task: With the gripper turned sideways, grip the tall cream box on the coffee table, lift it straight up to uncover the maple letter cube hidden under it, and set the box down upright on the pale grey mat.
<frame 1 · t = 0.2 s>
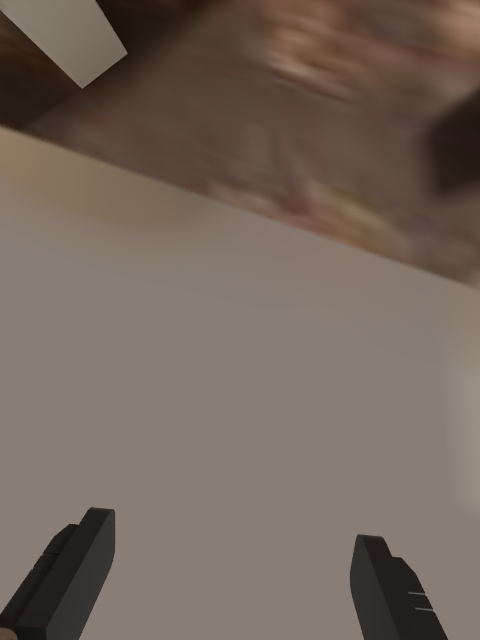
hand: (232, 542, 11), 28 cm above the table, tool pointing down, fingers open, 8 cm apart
cream box: (87, 44, 35), on the table
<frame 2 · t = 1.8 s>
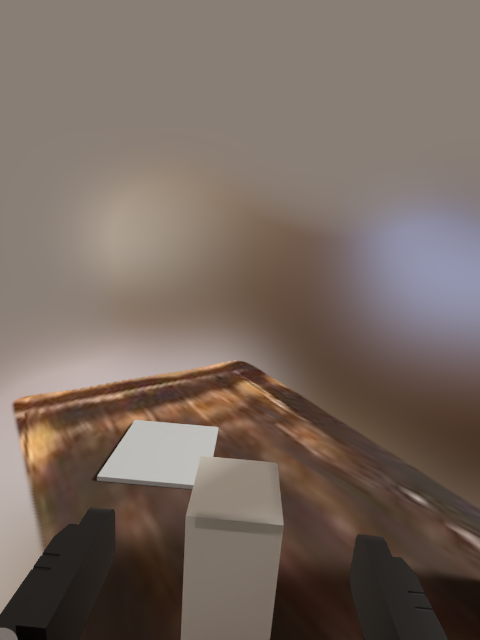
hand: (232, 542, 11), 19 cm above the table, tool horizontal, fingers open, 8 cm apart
grey mat: (165, 452, 46), on the table
cream box: (226, 619, 26), on the table
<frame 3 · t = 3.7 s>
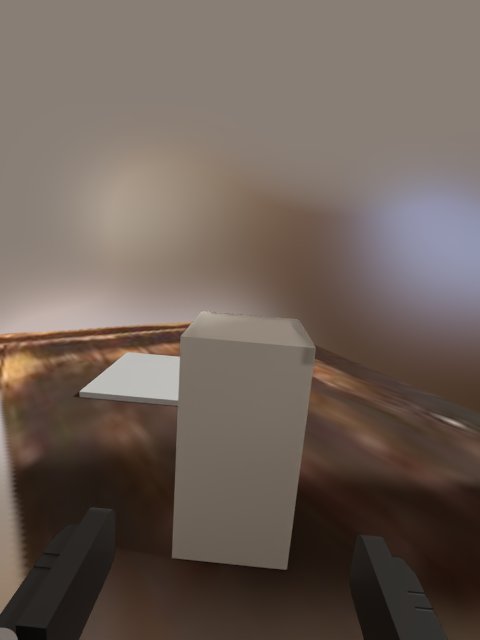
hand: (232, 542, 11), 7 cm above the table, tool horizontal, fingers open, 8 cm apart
grey mat: (160, 378, 40), on the table
cream box: (232, 518, 20), on the table
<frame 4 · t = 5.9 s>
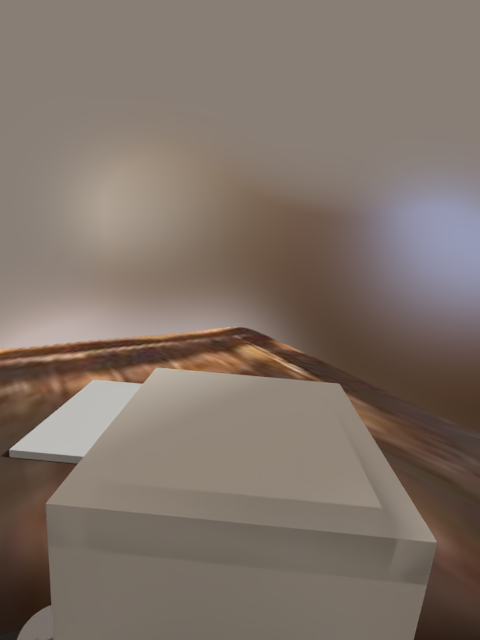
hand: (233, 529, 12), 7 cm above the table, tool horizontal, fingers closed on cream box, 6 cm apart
grey mat: (131, 419, 30), on the table
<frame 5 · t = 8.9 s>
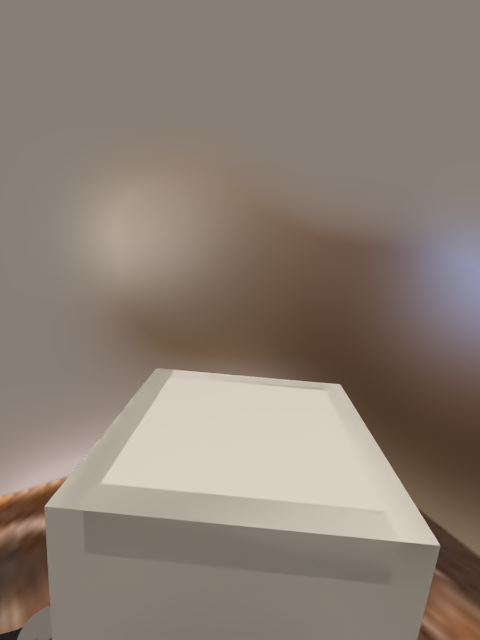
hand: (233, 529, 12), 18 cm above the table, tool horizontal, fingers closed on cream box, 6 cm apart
when the fingers open (9 cm above the table, at t = 11.7 s): cream box drops 1 cm, resting on grey mat.
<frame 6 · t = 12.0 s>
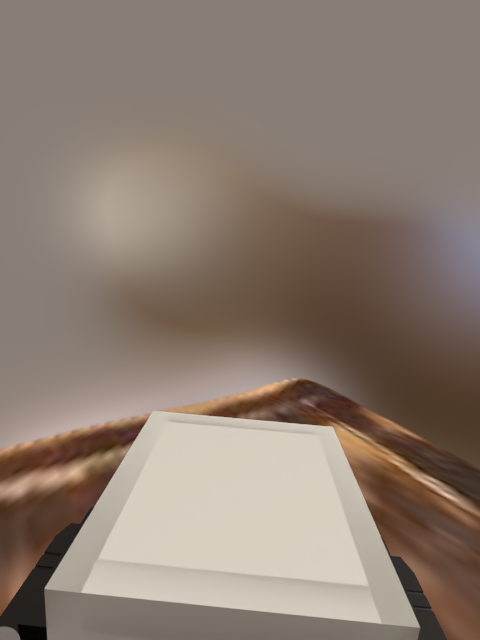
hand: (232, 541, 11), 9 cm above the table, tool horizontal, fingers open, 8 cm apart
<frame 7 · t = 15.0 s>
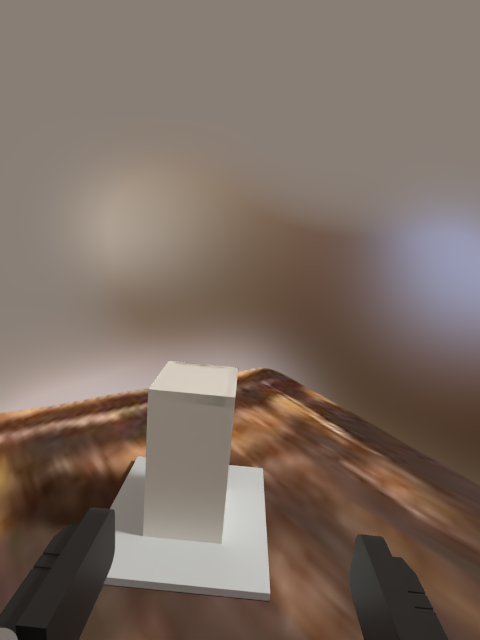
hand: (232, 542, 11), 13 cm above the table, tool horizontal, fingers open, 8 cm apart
grey mat: (188, 515, 29), on the table
cream box: (189, 510, 28), point 1 cm above the table, touching grey mat
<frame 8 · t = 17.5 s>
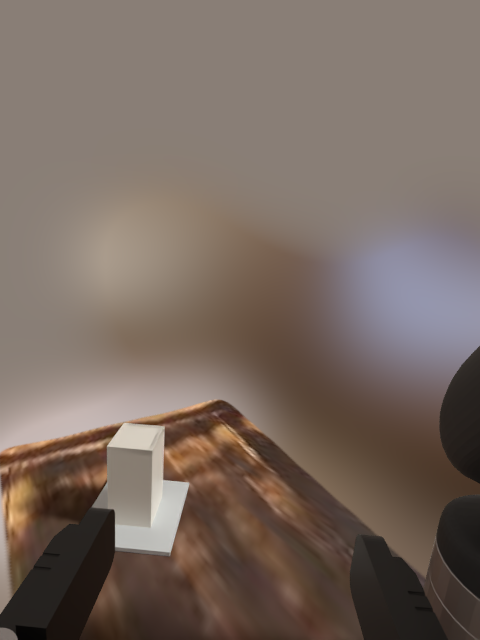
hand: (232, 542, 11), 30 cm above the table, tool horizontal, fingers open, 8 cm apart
grey mat: (136, 512, 50), on the table
cream box: (136, 509, 49), point 1 cm above the table, touching grey mat
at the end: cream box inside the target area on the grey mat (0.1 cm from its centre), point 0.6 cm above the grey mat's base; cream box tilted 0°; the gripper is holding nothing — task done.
